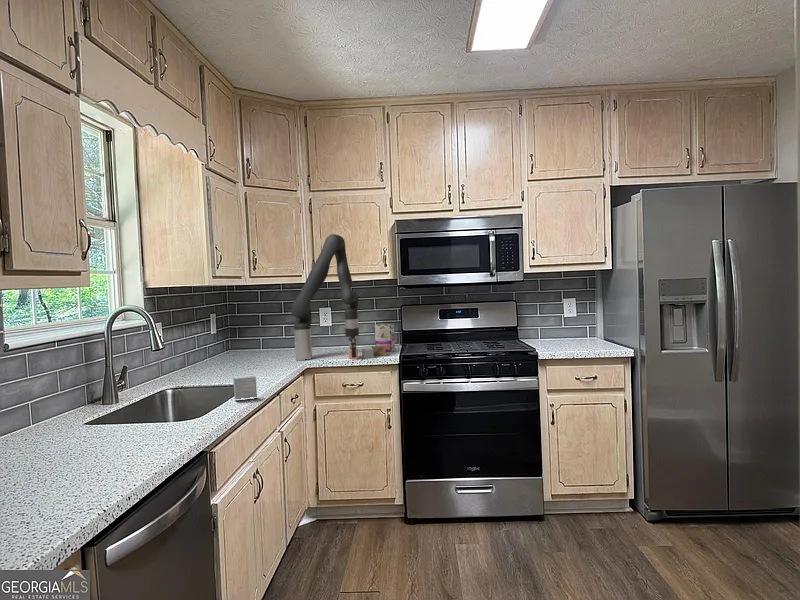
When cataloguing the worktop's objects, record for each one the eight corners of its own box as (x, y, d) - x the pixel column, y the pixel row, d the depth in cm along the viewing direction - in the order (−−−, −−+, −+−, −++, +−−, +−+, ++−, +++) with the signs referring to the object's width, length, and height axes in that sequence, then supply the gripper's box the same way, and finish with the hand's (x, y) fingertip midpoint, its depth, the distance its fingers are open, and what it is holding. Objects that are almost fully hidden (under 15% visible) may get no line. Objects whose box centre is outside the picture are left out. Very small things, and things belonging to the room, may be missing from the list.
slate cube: (364, 359, 300) (364, 350, 300) (362, 358, 305) (362, 349, 305) (373, 358, 302) (373, 349, 302) (371, 357, 307) (370, 348, 306)
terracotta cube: (349, 359, 301) (348, 350, 301) (348, 358, 306) (348, 349, 306) (358, 359, 302) (357, 350, 302) (357, 357, 307) (356, 349, 307)
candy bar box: (395, 351, 328) (394, 323, 327) (391, 352, 323) (390, 324, 323) (379, 350, 333) (378, 323, 332) (375, 351, 329) (374, 324, 328)
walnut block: (373, 357, 308) (372, 348, 307) (372, 355, 315) (371, 346, 314) (385, 356, 308) (385, 347, 308) (384, 354, 315) (384, 346, 315)
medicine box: (255, 397, 212) (254, 375, 212) (257, 399, 208) (256, 376, 207) (234, 400, 209) (233, 377, 208) (235, 402, 205) (234, 379, 204)
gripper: (344, 326, 310) (345, 355, 311) (345, 328, 296) (347, 358, 296) (357, 325, 311) (358, 354, 312) (359, 327, 297) (361, 357, 298)
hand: (353, 356), depth 304 cm, fingers open, 8 cm apart
